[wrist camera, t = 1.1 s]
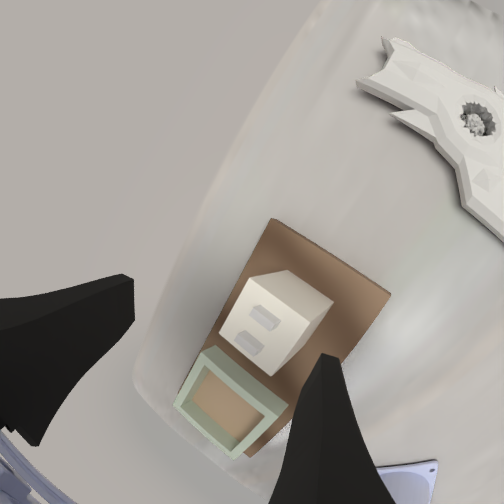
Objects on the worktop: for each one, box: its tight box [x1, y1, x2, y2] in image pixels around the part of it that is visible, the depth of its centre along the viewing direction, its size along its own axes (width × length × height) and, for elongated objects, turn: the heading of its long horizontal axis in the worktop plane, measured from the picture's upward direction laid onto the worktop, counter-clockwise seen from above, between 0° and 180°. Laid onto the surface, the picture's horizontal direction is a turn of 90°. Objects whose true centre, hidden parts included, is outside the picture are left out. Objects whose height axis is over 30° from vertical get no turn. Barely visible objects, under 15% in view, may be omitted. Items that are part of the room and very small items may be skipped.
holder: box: [173, 345, 289, 461], centre depth 22 cm, size 8×8×2 cm
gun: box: [355, 36, 504, 242], centre depth 13 cm, size 18×4×10 cm
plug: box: [219, 270, 334, 376], centre depth 17 cm, size 4×4×6 cm
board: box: [178, 218, 391, 458], centre depth 21 cm, size 20×10×1 cm, turn 148°
